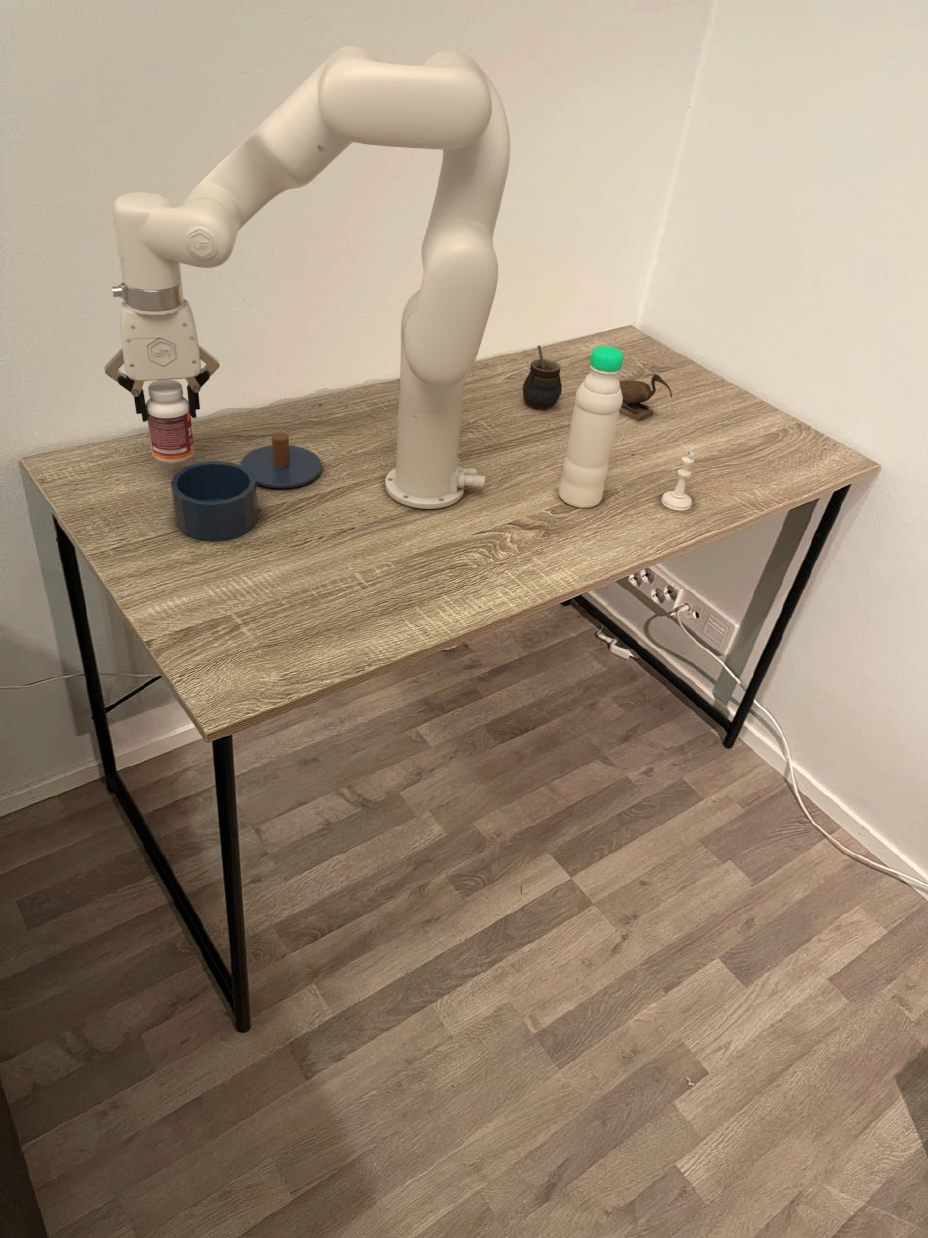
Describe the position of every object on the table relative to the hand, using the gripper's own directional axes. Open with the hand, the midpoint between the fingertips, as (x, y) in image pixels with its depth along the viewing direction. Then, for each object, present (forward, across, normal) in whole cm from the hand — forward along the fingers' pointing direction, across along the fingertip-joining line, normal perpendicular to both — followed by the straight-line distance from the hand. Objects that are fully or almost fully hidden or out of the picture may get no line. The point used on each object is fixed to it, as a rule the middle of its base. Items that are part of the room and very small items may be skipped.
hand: (168, 414), depth 136 cm
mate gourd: (+12, +67, +15) cm, 70 cm away
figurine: (+12, +84, +9) cm, 86 cm away
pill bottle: (+7, 0, 0) cm, 7 cm away
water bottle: (+12, +61, -17) cm, 64 cm away
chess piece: (+12, +76, -21) cm, 80 cm away
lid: (+11, +16, 0) cm, 20 cm away
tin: (+12, +4, -11) cm, 17 cm away
